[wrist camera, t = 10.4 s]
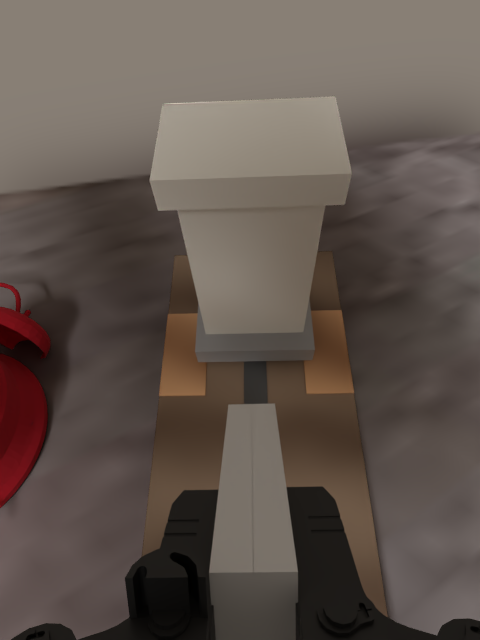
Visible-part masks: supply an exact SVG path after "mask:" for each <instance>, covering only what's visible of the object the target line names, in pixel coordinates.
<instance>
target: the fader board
mask: <svg viewBox="0 0 480 640" xmlns="http://www.w3.org/2000/svg"><path fill="white" fill-rule="evenodd" d="M309 298H310V308H311V317H312V327H313V336H314V345H315V351H314V356H313V360H295V361H240V362H198V360H197V357H196V353H195V345H196V330H197V315H198V298H197V294H196V290H195V285H194V281H193V277H192V272H191V268H190V264H189V259H188V255H175V258H174V267H173V276H172V285H171V295H170V304H169V313H168V318H167V327H166V336H165V345H164V354H163V363H162V372H161V381H160V390H159V404H158V413H157V422H156V431H155V440H154V449H153V458H152V468H151V477H150V486H149V495H148V504H147V513H146V522H145V531H144V540H143V549H142V557H143V556H144V555H146V554H148V553H150V552H152V551H154V550H156V549H160V546H161V542H162V539H163V537H164V531H165V528H166V524H167V523H168V517H169V513H170V509H171V506H172V503H173V502H174V501H175V500H176V499H177V498H178V496H179V495H180V494H181V493H182V492H183V491H184V490H219V482H220V474H221V465H222V457H223V448H224V439H225V431H226V422H227V413H228V405H231V404H275V408H276V416H277V423H278V430H279V438H280V445H281V452H282V459H283V467H284V474H285V481H286V487H316V486H323V487H324V488H325V489H326V490H327V491H328V492H329V493H330V495H331V496H332V497H333V498H334V499H335V500H336V503H337V507H338V510H339V513H340V518H341V520H342V523H343V526H344V531H345V533H346V536H347V539H348V543H349V546H350V549H351V552H352V556H353V559H354V562H355V565H356V569H357V572H358V575H359V578H360V582H361V585H362V588H363V590H364V592H365V594H366V596H367V598H369V599H370V600H371V601H372V602H373V604H374V605H375V607H376V608H377V609H378V610H379V611H380V612H381V613H382V614H383V615H385V616H386V617H388V615H387V609H386V602H385V596H384V589H383V582H382V576H381V569H380V563H379V556H378V550H377V543H376V536H375V530H374V523H373V517H372V510H371V503H370V497H369V490H368V484H367V477H366V471H365V464H364V457H363V451H362V444H361V438H360V431H359V424H358V418H357V411H356V405H355V398H354V388H353V382H352V375H351V369H350V362H349V356H348V349H347V343H346V336H345V329H344V323H343V316H342V310H341V306H340V299H339V293H338V286H337V280H336V273H335V267H334V260H333V253H332V251H318V252H317V256H316V262H315V268H314V274H313V279H312V285H311V291H310V297H309Z"/></svg>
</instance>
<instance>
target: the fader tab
mask: <svg viewBox="0 0 480 640" xmlns="http://www.w3.org/2000/svg"><path fill="white" fill-rule="evenodd" d="M351 175H352V172H351V167H350V162H349V157H348V153H347V148H346V143H345V139H344V134H343V129H342V124H341V120H340V115H339V110H338V106H337V101H336V97H335V96H333V97H309V98H285V99H262V100H238V101H216V102H190V103H169V104H163V105H162V111H161V117H160V123H159V129H158V134H157V140H156V146H155V152H154V158H153V164H152V170H151V175H150V180H149V181H150V184H151V188H152V191H153V195H154V198H155V202H156V205H157V209H158V211H165V210H177V212H178V216H179V220H180V225H181V229H182V233H183V238H184V242H185V246H186V251H187V255H188V259H189V264H190V268H191V272H192V277H193V281H194V285H195V290H196V294H197V298H198V315H197V330H196V345H195V353H196V357H197V360H198V362H240V361H295V360H313V356H314V351H315V345H314V336H313V327H312V317H311V308H310V298H309V297H310V291H311V285H312V279H313V274H314V268H315V262H316V256H317V251H318V245H319V239H320V233H321V228H322V222H323V216H324V211H325V205H345V202H346V197H347V193H348V189H349V184H350V180H351Z"/></svg>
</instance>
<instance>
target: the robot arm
mask: <svg viewBox="0 0 480 640" xmlns="http://www.w3.org/2000/svg"><path fill="white" fill-rule="evenodd" d="M125 582H126V590H127V598H128V607H129V615H130V617H129V618H128V619H127V620H125V621H124V622H122V623H121V624H119V625H118V626H115V627H113V628H111V629H108V630H106V631H103V632H100V633H97V634H94V635H91V636H88V637H85V638H82V639H78V640H480V621H476V620H473V619H453V620H451V621H449V622H448V623H446V624H444V625H442V627H441V629H440V631H439V633H438V635H437V636H436V635H433V634H429V633H426V632H423V631H419V630H416V629H413V628H409V627H406V626H404V625H401V624H399V623H396V622H394V621H393V620H391V619H390V618H388V617H386V616H385V615H383V614H382V613H381V612H380V611H379V610H378V609H377V608H376V607H375V605H374V604H373V602H372V601H371V600H370V599H369V598H367V596H366V594H365V592H364V590H363V588H362V585H361V582H360V578H359V575H358V572H357V569H356V565H355V562H354V559H353V556H352V552H351V549H350V546H349V543H348V539H347V536H346V533H345V531H344V526H343V523H342V520H341V518H340V513H339V510H338V507H337V503H336V500H335V499H334V498H333V497H332V496H331V495H330V493H329V492H328V491H327V490H326V489H325V488H324V487H323V486H316V487H286V481H285V474H284V467H283V459H282V452H281V445H280V438H279V430H278V423H277V416H276V408H275V404H231V405H228V413H227V422H226V431H225V439H224V448H223V457H222V465H221V474H220V482H219V490H184V491H183V492H182V493H181V494H180V495H179V496H178V498H177V499H176V500H175V501H174V502H173V503H172V506H171V509H170V513H169V517H168V523H167V524H166V528H165V531H164V537H163V539H162V542H161V546H160V549H156V550H154V551H152V552H150V553H148V554H146V555H144V556H143V557H141V558H140V559H139V560H138V561H137V562H136V563H135V564H133V565H132V567H131V569H130V570H129V572H128V574H127V576H126V577H125ZM11 640H76V638H75V636H74V634H73V632H72V630H71V629H69V628H67V627H65V626H63V625H62V624H48V623H45V624H42V625H39V626H36V627H32V628H29V629H27V630H26V631H24V632H22V633H21V634H19V635H18V636H16V637H14V638H13V639H11Z"/></svg>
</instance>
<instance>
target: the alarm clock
mask: <svg viewBox="0 0 480 640" xmlns="http://www.w3.org/2000/svg"><path fill="white" fill-rule="evenodd" d="M0 287H4V288H8V289H10V290H11V291H12V292H13V293H14V295H15V297H16V311H14V310H12V309H8V308H4V307H0V344H2V345H4V346H6V347H8V348H10V349H12V350H13V348H14V347H15V345H16V344H17V343H19V342H20V341H24V340H31V341H32V342H33V343H35V344H36V345H37V346H38V347H39V348H40V349H41V350H42V351H43V354H42V356H41V358H45V357H46V355H47V354H48V352H49V349H50V338H49V336H48V334H47V333H46V331H45V330H44V329H43V328H42V327H41V326H40V325H39V324H38V323H36V322H35V321H34V320H32V319H30V318H29V317H28V316H29V315H30V314H31V311H29V310H26V311H25V313H24V314H21V313H20V308H21V299H20V295H19V292H18V291H17V290H16V289H15V288H14V287H13V286H11V285H8V284H5V283H0ZM41 358H40V359H41ZM47 419H48V413H47V402H46V398H45V394H44V391H43V388H42V386H41V384H40V382H39V381H38V379H37V378H36V376H35V375H34V374H33V373H32V372H31V371H30V370H29V369H28V368H27V367H26V366H25V365H23V364H22V363H21V362H19V361H18V360H16V359H14V358H12V357H9V356H7V355H4V354H0V508H1V507H2V506H3V505H4V504H5V503H6V502H7V501H8V500H9V499H10V498H11V497H12V496H13V494H14V493H15V492H16V491H17V490H18V488H19V487H20V486H21V484H22V483H23V482H24V480H25V479H26V477H27V476H28V474H29V473H30V471H31V469H32V468H33V466H34V464H35V462H36V460H37V458H38V455H39V453H40V450H41V447H42V445H43V442H44V438H45V434H46V428H47Z"/></svg>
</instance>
